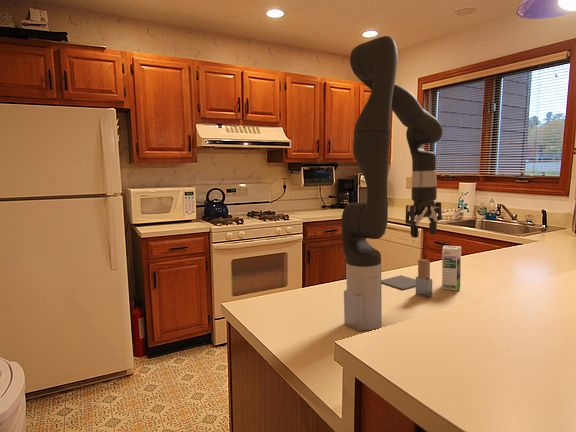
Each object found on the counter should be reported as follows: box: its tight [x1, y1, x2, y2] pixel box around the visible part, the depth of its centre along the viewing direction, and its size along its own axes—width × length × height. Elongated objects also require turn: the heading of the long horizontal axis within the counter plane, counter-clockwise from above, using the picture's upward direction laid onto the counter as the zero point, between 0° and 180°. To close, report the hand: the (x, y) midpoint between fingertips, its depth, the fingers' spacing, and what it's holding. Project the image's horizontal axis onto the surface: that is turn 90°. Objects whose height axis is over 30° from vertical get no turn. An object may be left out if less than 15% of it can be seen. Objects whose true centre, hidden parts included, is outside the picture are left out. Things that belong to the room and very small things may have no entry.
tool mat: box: [381, 275, 416, 291], centre depth 137 cm, size 12×12×1 cm
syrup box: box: [441, 245, 462, 292], centre depth 129 cm, size 6×6×14 cm
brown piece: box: [415, 258, 433, 299], centre depth 122 cm, size 2×5×12 cm, turn 30°
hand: (423, 235), depth 120 cm, fingers open, 8 cm apart
